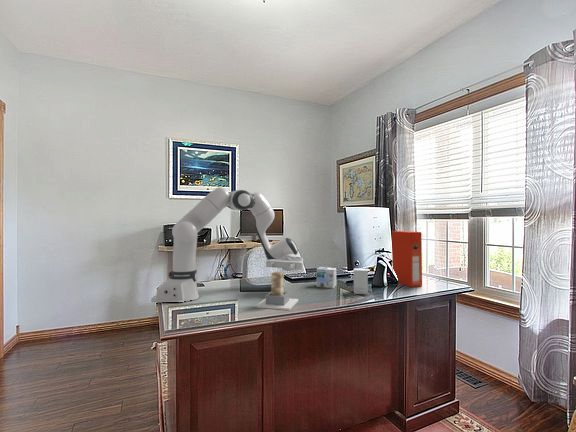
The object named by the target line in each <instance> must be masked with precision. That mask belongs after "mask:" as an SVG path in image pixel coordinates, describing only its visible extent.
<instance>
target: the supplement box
mask: <svg viewBox="0 0 576 432" xmlns="http://www.w3.org/2000/svg"><path fill="white" fill-rule="evenodd" d="M368 275H369V271H368V268H363V267H361V268H357V267H356V268H355V267H354V268H353V294H355V295H357V294H358V295H369V282H368V281H369V276H368Z"/></svg>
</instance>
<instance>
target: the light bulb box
mask: <svg viewBox="0 0 576 432" xmlns="http://www.w3.org/2000/svg"><path fill="white" fill-rule="evenodd" d="M315 285H316V286H315V287H319V288H328V289H335V286H337V268H336V267H323V266H319V267H317V268H316V284H315Z"/></svg>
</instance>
